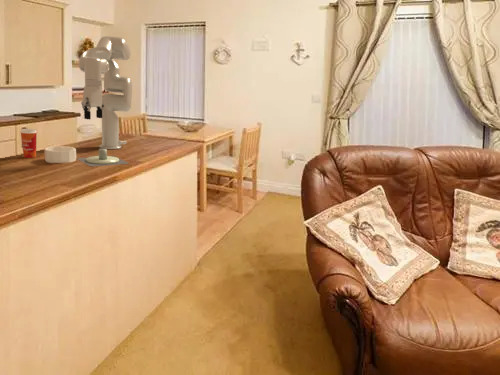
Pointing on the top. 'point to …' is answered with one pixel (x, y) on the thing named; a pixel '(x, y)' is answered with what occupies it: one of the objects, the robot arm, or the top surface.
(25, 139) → the paper cup
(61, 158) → the bowl
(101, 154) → the lid
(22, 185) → the top surface
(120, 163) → the mat
